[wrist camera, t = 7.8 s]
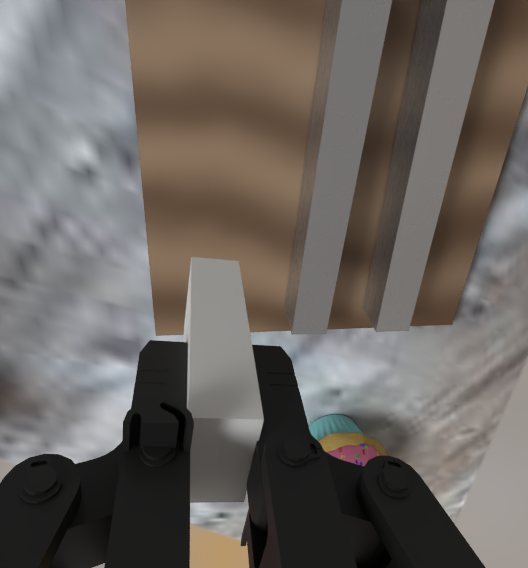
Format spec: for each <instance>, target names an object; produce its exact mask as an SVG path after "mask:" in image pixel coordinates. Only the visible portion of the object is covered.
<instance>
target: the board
mask: <svg viewBox="0 0 528 568" xmlns="http://www.w3.org/2000/svg"><path fill="white" fill-rule="evenodd" d="M326 2H327V0H125V3H126V14H127V25H128V36H129V47H130V58H131V68H132V79H133V90H134V101H135V112H136V123H137V134H138V145H139V156H140V167H141V177H142V188H143V199H144V210H145V221H146V232H147V243H148V254H149V265H150V276H151V286H152V297H153V308H154V319H155V330H156V336H160V335H184V323H185V313H186V303H187V294H188V284H189V275H190V265H191V257H200V258H211V259H222V260H233V261H239V267H240V273H241V279H242V285H243V292H244V298H245V304H246V310H247V317H248V323H249V329H250V332H266V331H291V330H290V326H289V323H288V319H287V316H286V312H285V303H286V295H287V288H288V281H289V273H290V266H291V259H292V251H293V244H294V237H295V229H296V222H297V215H298V207H299V200H300V193H301V185H302V178H303V171H304V163H305V156H306V149H307V141H308V134H309V127H310V119H311V112H312V105H313V97H314V90H315V83H316V75H317V68H318V61H319V53H320V46H321V39H322V31H323V24H324V17H325V9H326ZM420 5H421V0H392V4H391V9H390V14H389V19H388V24H387V29H386V34H385V39H384V44H383V49H382V54H381V59H380V65H379V70H378V75H377V80H376V85H375V90H374V95H373V100H372V105H371V110H370V115H369V120H368V125H367V130H366V135H365V140H364V145H363V150H362V155H361V160H360V165H359V170H358V176H357V181H356V186H355V191H354V196H353V201H352V206H351V211H350V216H349V221H348V226H347V231H346V236H345V241H344V246H343V251H342V256H341V261H340V266H339V271H338V276H337V281H336V286H335V292H334V297H333V302H332V307H331V312H330V317H329V322H328V327H327V329H347V328H373V325H372V324H371V322H370V320H369V318H368V316H367V314H366V312H365V310H364V309H363V304H364V299H365V294H366V288H367V283H368V278H369V273H370V267H371V262H372V257H373V252H374V246H375V241H376V236H377V231H378V225H379V220H380V215H381V210H382V204H383V199H384V194H385V189H386V183H387V178H388V173H389V168H390V162H391V157H392V152H393V147H394V141H395V136H396V131H397V126H398V120H399V115H400V110H401V105H402V99H403V94H404V89H405V84H406V78H407V73H408V68H409V63H410V57H411V52H412V47H413V42H414V36H415V31H416V26H417V21H418V15H419V10H420ZM527 87H528V0H495V2H494V5H493V9H492V13H491V17H490V21H489V25H488V28H487V32H486V36H485V40H484V44H483V48H482V51H481V55H480V59H479V63H478V67H477V71H476V74H475V78H474V82H473V86H472V90H471V94H470V97H469V101H468V105H467V109H466V113H465V117H464V120H463V124H462V128H461V132H460V136H459V140H458V144H457V147H456V151H455V155H454V159H453V163H452V167H451V170H450V174H449V178H448V182H447V186H446V190H445V193H444V197H443V201H442V205H441V209H440V213H439V216H438V220H437V224H436V228H435V232H434V236H433V239H432V243H431V247H430V251H429V255H428V259H427V263H426V266H425V270H424V274H423V278H422V282H421V286H420V289H419V293H418V297H417V301H416V305H415V309H414V312H413V316H412V320H411V324H410V326H427V325H452V323H453V320H454V317H455V314H456V311H457V308H458V304H459V301H460V298H461V295H462V292H463V289H464V285H465V282H466V279H467V276H468V273H469V270H470V267H471V263H472V260H473V257H474V254H475V251H476V248H477V245H478V241H479V238H480V235H481V232H482V229H483V226H484V223H485V219H486V216H487V213H488V210H489V207H490V204H491V201H492V197H493V194H494V191H495V188H496V185H497V182H498V179H499V175H500V172H501V169H502V166H503V163H504V160H505V157H506V153H507V150H508V147H509V144H510V141H511V138H512V135H513V131H514V128H515V125H516V122H517V119H518V116H519V113H520V109H521V106H522V103H523V100H524V97H525V94H526V91H527Z"/></svg>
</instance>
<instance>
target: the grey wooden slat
mask: <svg viewBox="0 0 528 568" xmlns="http://www.w3.org/2000/svg"><path fill="white" fill-rule="evenodd" d="M391 4H392V0H327V2H326V9H325V17H324V24H323V31H322V39H321V46H320V53H319V61H318V68H317V75H316V83H315V90H314V97H313V105H312V112H311V119H310V127H309V134H308V141H307V149H306V156H305V163H304V171H303V178H302V185H301V193H300V200H299V207H298V215H297V222H296V229H295V237H294V244H293V251H292V259H291V266H290V273H289V281H288V288H287V295H286V303H285V312H286V316H287V319H288V323H289V326H290V330H291V333H292V334H326V332H327V327H328V322H329V317H330V312H331V307H332V302H333V297H334V292H335V286H336V281H337V276H338V271H339V266H340V261H341V256H342V251H343V246H344V241H345V236H346V231H347V226H348V221H349V216H350V211H351V206H352V201H353V196H354V191H355V186H356V181H357V176H358V170H359V165H360V160H361V155H362V150H363V145H364V140H365V135H366V130H367V125H368V120H369V115H370V110H371V105H372V100H373V95H374V90H375V85H376V80H377V75H378V70H379V65H380V59H381V54H382V49H383V44H384V39H385V34H386V29H387V24H388V19H389V14H390V9H391Z"/></svg>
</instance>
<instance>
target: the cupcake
mask: <svg viewBox="0 0 528 568" xmlns="http://www.w3.org/2000/svg"><path fill="white" fill-rule="evenodd" d="M309 430H310V433H311V435H312V436H313V437H314V438H315V439H316V440H317V441H318V442H319V443H320V444H321V446H322V448H323V450H324V451H325V452H327V453H328V454H330V455H332V456H334V457H336V458H339V459H341V460H344V461H347V462H351V463H354V464H357V465H361V466H365V465H366V463H367V462H368V460H370V459H372V458H374V457H376V456H387V453H386V451H385V449H384V447H383V445H382V444H381V443H380V442H379V441H377V440H376V439H373V438H371V437H369V436H366V435H364V434H363V433H362V431H361V430H360V429H359V428H358V427H357V426H356V424H355V423H354V422H353V421H352V420H351V419H350V418H348V417H346V416H344V415H337V414H334V415H327V416H324V417H321V418H319V419H317V420H316V421H314V422H313V423H312V424H311V425H310V426H309Z"/></svg>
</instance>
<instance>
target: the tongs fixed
mask: <svg viewBox="0 0 528 568" xmlns="http://www.w3.org/2000/svg"><path fill="white" fill-rule="evenodd" d="M494 2H495V0H421V5H420V10H419V15H418V21H417V26H416V31H415V36H414V42H413V47H412V52H411V57H410V63H409V68H408V73H407V78H406V84H405V89H404V94H403V99H402V105H401V110H400V115H399V120H398V126H397V131H396V136H395V141H394V147H393V152H392V157H391V162H390V168H389V173H388V178H387V183H386V189H385V194H384V199H383V204H382V210H381V215H380V220H379V225H378V231H377V236H376V241H375V246H374V252H373V257H372V262H371V267H370V273H369V278H368V283H367V288H366V294H365V299H364V304H363V309H364V310H365V312H366V314H367V316H368V318H369V320H370V322H371V324H372V325H373V327H374V329H375V331H376V332H384V331H409V328H410V324H411V320H412V316H413V312H414V309H415V305H416V301H417V297H418V293H419V289H420V286H421V282H422V278H423V274H424V270H425V266H426V263H427V259H428V255H429V251H430V247H431V243H432V239H433V236H434V232H435V228H436V224H437V220H438V216H439V213H440V209H441V205H442V201H443V197H444V193H445V190H446V186H447V182H448V178H449V174H450V170H451V167H452V163H453V159H454V155H455V151H456V147H457V144H458V140H459V136H460V132H461V128H462V124H463V120H464V117H465V113H466V109H467V105H468V101H469V97H470V94H471V90H472V86H473V82H474V78H475V74H476V71H477V67H478V63H479V59H480V55H481V51H482V48H483V44H484V40H485V36H486V32H487V28H488V25H489V21H490V17H491V13H492V9H493V5H494Z"/></svg>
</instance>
